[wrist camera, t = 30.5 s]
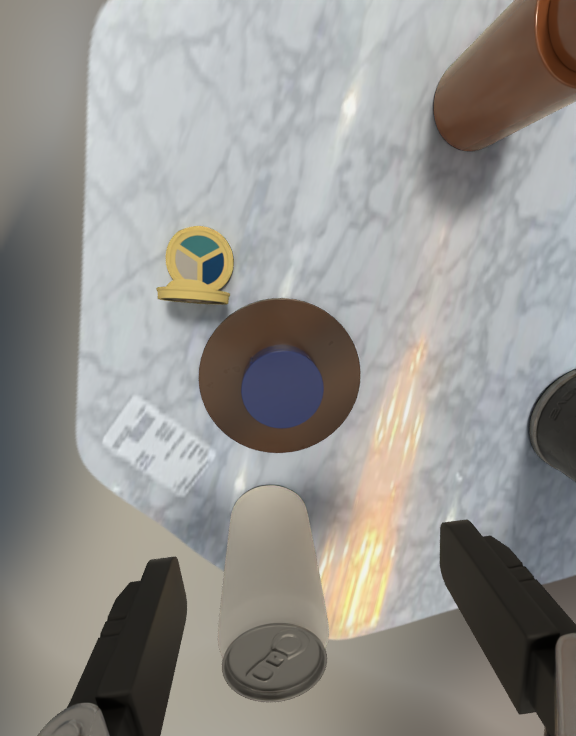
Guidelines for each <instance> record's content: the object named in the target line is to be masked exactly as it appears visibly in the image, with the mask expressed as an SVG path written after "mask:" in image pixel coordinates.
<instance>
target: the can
mask: <svg viewBox="0 0 576 736" xmlns="http://www.w3.org/2000/svg"><path fill="white" fill-rule="evenodd" d="M328 636H329V626H328V618H327V612H326V607H325V601H324V596H323V591H322V585H321V580H320V575H319V569H318V564H317V559H316V554H315V548H314V543H313V538H312V533H311V528H310V523H309V518H308V513H307V509H306V506H305V504H304V502H303V500H302V499H301V498H300V496H299V495H297V494H296V493H295V492H293V491H291V490H289V489H287V488H284V487H280V486H275V485H267V486H261V487H257V488H254V489H252V490H250V491H248V492H246V493H245V494H244V495H242V496H241V497H240V498H239V499H238V501H237V502H236V504H235V505H234V507H233V510H232V513H231V519H230V527H229V535H228V543H227V552H226V560H225V569H224V578H223V587H222V596H221V606H220V614H219V625H218V645H219V650H220V652H221V656H222V658H223V662H222V672H223V676H224V678H225V680H226V682H227V684H228V685H229V686H230V687H231V689H233V690H234V691H235V692H236V693H238V694H239V695H241V696H243V697H245V698H248V699H251V700H255V701H260V702H279V701H285V700H289V699H292V698H295V697H297V696H300V695H302V694H303V693H305V692H307V691H308V690H310V689H311V688H312V687H313V686H314V685H315V684H316V683H317V682H318V681H319V680H320V679H321V677H322V675H323V673H324V671H325V668H326V664H327V654H326V646H327V641H328Z"/></svg>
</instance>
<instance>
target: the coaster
mask: <svg viewBox="0 0 576 736" xmlns="http://www.w3.org/2000/svg"><path fill="white" fill-rule="evenodd" d="M274 345H290V346H294V347H296V348H299V349H301V350H302V351H304V352H305V353H307V354H308V355H309V356H310V357H311V358H312V360H313V361H314V362H315V364H316V366H317V368H318V370H319V372H320V374H321V376H322V380H323V386H324V392H323V398H322V401H321V403H320V406H319V408H318V409H317V411H316V412H315V413H314V414H313V415H312V416H311V417H310V418H309V419H308V420H306V421H305V422H303V423H302V424H300V425H297V426H294V427H290V428H273V427H269V426H266V425H264V424H262V423H260V422H258V421H257V420H256V419H254V418H253V417H252V416H251V415H250V413H249V412H248V411H247V409H246V407H245V405H244V403H243V400H242V395H241V386H242V379H243V374H244V370H245V368H246V366H247V364H248V362H249V361H250V358H251V357H253V356H254V355H255V354H257V353H258V352H259V351H261V350H263V349H265V348H267V347H270V346H274ZM359 385H360V364H359V359H358V354H357V351H356V349H355V346H354V344H353V341H352V340H351V338H350V336H349V334H348V333H347V332H346V330H345V329H344V328H343V326H342V325H341V324H340V323H339V322H338V321H337V320H336V319H335V318H333V317H332V316H331V315H329V314H328V313H327V312H325V311H324V310H322V309H320V308H319V307H317V306H315V305H312V304H310V303H307V302H304V301H300V300H296V299H288V298H272V299H266V300H261V301H257V302H254V303H251V304H249V305H246V306H244V307H242V308H240V309H239V310H237V311H235V312H234V313H232V314H231V315H230V316H229V317H227V318H226V319H225V320H224V321H223V322H222V323H221V324H220V325H219V326H218V327H217V328H216V330H215V331H214V333H213V334H212V336H211V337H210V338H209V340H208V342H207V344H206V346H205V348H204V351H203V354H202V357H201V361H200V367H199V387H200V393H201V397H202V400H203V403H204V405H205V408H206V410H207V412H208V413H209V415H210V417H211V418H212V420H213V421H214V422H215V424H216V425H217V426H218V427H219V428H220V429H221V430H222V431H223V432H224V433H225V434H226V435H228V436H229V437H230V438H231V439H233V440H235V441H236V442H238V443H240V444H242V445H244V446H246V447H248V448H251V449H255V450H258V451H263V452H270V453H286V452H293V451H298V450H302V449H305V448H308V447H310V446H313V445H315V444H317V443H319V442H320V441H322V440H324V439H325V438H327V437H328V436H329V435H331V434H332V433H333V432H334V431H335V430H336V429H337V428H338V427H339V426H340V425H341V424H342V423H343V422H344V420H345V419H346V418H347V416H348V415H349V413H350V411H351V410H352V408H353V405H354V403H355V401H356V398H357V394H358V391H359Z"/></svg>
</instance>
